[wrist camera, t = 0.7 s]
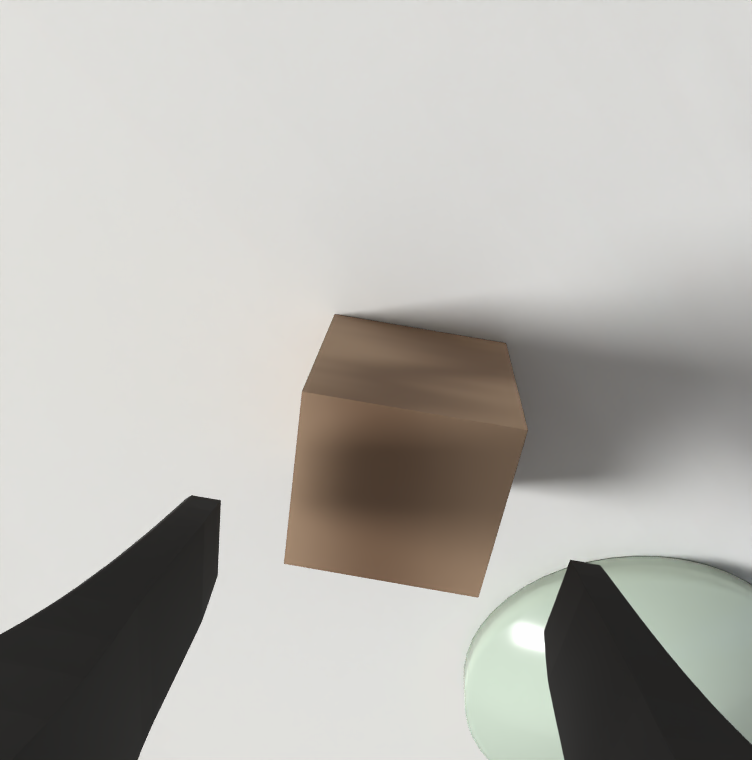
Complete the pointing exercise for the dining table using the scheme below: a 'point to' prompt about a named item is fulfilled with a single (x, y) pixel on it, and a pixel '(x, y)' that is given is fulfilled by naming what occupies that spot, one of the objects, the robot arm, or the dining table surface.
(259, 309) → the dining table surface
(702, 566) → the pale green domed disc
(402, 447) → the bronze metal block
